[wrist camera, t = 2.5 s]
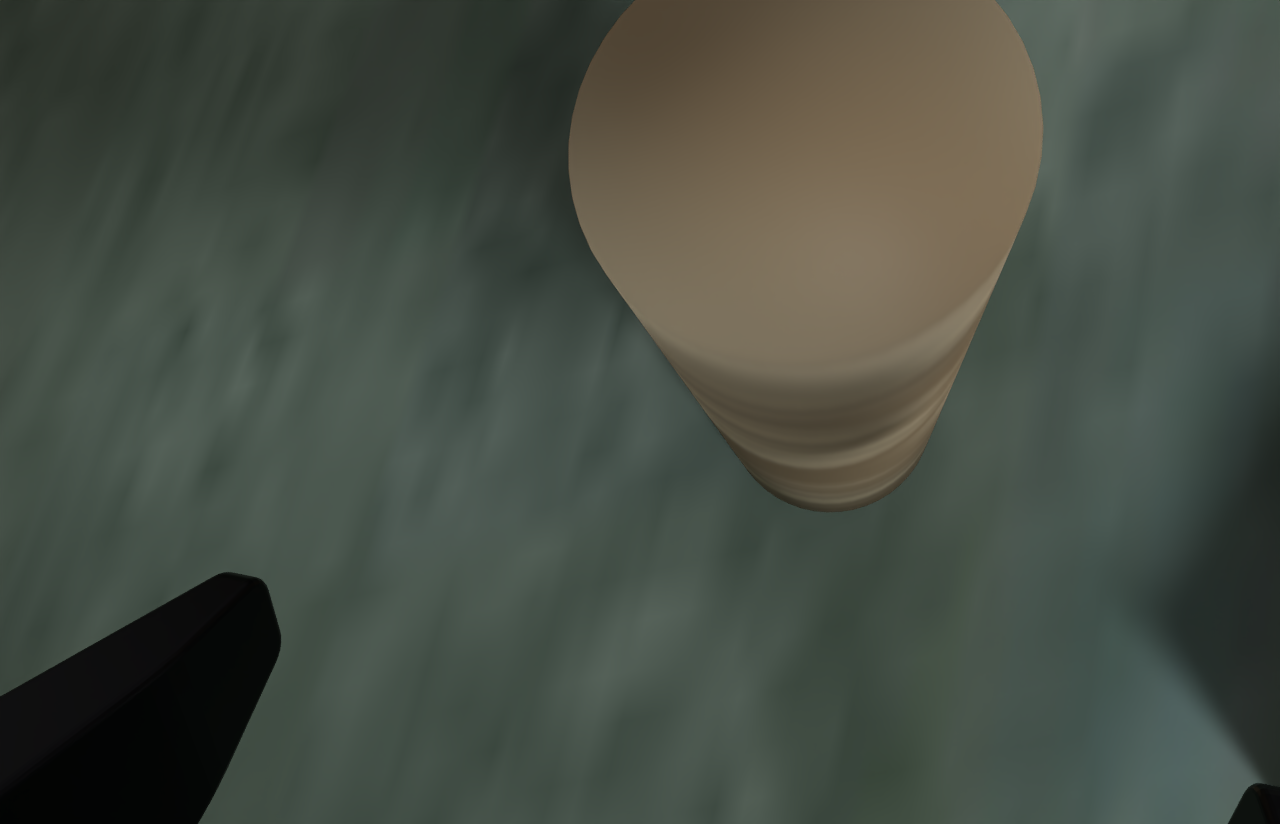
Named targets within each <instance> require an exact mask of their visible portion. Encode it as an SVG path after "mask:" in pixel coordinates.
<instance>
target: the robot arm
mask: <svg viewBox="0 0 1280 824" xmlns="http://www.w3.org/2000/svg"><path fill="white" fill-rule="evenodd" d="M280 647H281V633H280V629H279V625H278V622H277V618H276V615H275V611H274V608H273V604H272V601H271V597H270V594H269V590H268V588H267V585H266V584H265V583H264V582H263V581H262V580H261V579H259V578H257V577H252V576H247V575H242V574H238V573H232V572H224V573H221V574H218V575H216V576H214V577H212V578H210V579H208V580H206V581H205V582H203V583H201V584H199V585H198V586H196V587H194V588H192V589H190V590H189V591H187V592H185V593H183V594H182V595H180V596H178V597H176V598H174V599H173V600H171V601H169V602H167V603H166V604H164V605H162V606H160V607H158V608H157V609H155V610H153V611H151V612H150V613H148V614H146V615H144V616H142V617H141V618H139V619H137V620H135V621H134V622H132V623H130V624H128V625H126V626H125V627H123V628H121V629H119V630H118V631H116V632H114V633H112V634H110V635H109V636H107V637H105V638H103V639H102V640H100V641H98V642H96V643H94V644H93V645H91V646H89V647H87V648H86V649H84V650H82V651H80V652H78V653H77V654H75V655H73V656H71V657H70V658H68V659H66V660H64V661H63V662H61V663H59V664H57V665H55V666H54V667H52V668H50V669H48V670H47V671H45V672H43V673H41V674H39V675H38V676H36V677H34V678H32V679H31V680H29V681H27V682H25V683H23V684H22V685H20V686H18V687H16V688H15V689H13V690H11V691H9V692H7V693H6V694H4V695H2V696H0V824H198V823H199V821H200V819H201V818H202V816H203V814H204V812H205V810H206V809H207V807H208V805H209V803H210V802H211V800H212V798H213V796H214V794H215V792H216V790H217V788H218V786H219V784H220V782H221V780H222V778H223V776H224V774H225V772H226V770H227V768H228V766H229V763H230V761H231V759H232V757H233V755H234V753H235V750H236V748H237V746H238V744H239V742H240V739H241V737H242V735H243V733H244V731H245V729H246V726H247V724H248V722H249V720H250V718H251V716H252V713H253V711H254V709H255V707H256V705H257V702H258V700H259V698H260V696H261V694H262V692H263V689H264V687H265V685H266V683H267V681H268V678H269V676H270V674H271V672H272V670H273V668H274V665H275V663H276V661H277V658H278V656H279V652H280ZM1228 824H1280V787H1277V786H1272V785H1267V784H1262V783H1255V784H1253V785H1251V786H1250V787H1248V788H1247V790H1246V791H1245V792H1244V794H1243V796H1242V798H1241V800H1240V802H1239V804H1238V806H1237V808H1236V809H1235V811H1234V813H1233V815H1232V817H1231V819H1230V821H1229V823H1228Z"/></svg>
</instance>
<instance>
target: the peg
mask: <svg viewBox="0 0 1280 824" xmlns="http://www.w3.org/2000/svg"><path fill="white" fill-rule="evenodd" d="M1042 138H1043V120H1042V109H1041V97H1040V93H1039V89H1038V85H1037V81H1036V77H1035V73H1034V68H1033V66H1032V63H1031V61H1030V59H1029V56H1028V54H1027V51H1026V49H1025V46H1024V44H1023V41H1022V40H1021V38H1020V36H1019V35H1018V33H1017V31H1016V29H1015V28H1014V26H1013V24H1012V23H1011V21H1010V19H1009V18H1008V16H1007V15H1006V13H1005V12H1004V11H1003V10H1002V9H1001V7H1000V6H999V5H998V4H997V2H996V1H995V0H635V1H634V2H633V3H632V4H631V5H630V6H629V7H628V8H627V9H626V10H625V12H624V13H623V14H622V15H621V16H620V17H619V19H618V20H617V21H616V23H615V24H614V26H613V27H612V28H611V30H610V31H609V32H608V34H607V35H606V36H605V38H604V39H603V41H602V43H601V45H600V47H599V48H598V50H597V52H596V54H595V55H594V57H593V59H592V61H591V62H590V65H589V67H588V70H587V72H586V74H585V77H584V79H583V82H582V84H581V87H580V89H579V93H578V97H577V100H576V104H575V108H574V111H573V115H572V122H571V129H570V137H569V177H570V184H571V191H572V198H573V202H574V205H575V209H576V213H577V216H578V220H579V223H580V226H581V228H582V231H583V233H584V235H585V237H586V240H587V242H588V244H589V246H590V249H591V251H592V252H593V254H594V256H595V257H596V259H597V260H598V262H599V264H600V265H601V267H602V268H603V270H604V272H605V273H606V275H607V276H608V278H609V279H610V280H611V282H612V283H613V285H614V286H615V287H616V289H617V290H618V291H619V293H620V294H621V296H622V297H623V298H624V300H625V301H626V303H627V304H628V305H629V307H630V308H631V309H632V311H633V312H634V314H635V315H636V316H637V318H638V319H639V321H640V322H641V323H642V325H643V326H644V327H645V329H646V330H647V332H648V333H649V334H650V336H651V337H652V339H653V340H654V341H655V343H656V344H657V346H658V347H659V348H660V350H661V351H662V352H663V354H664V355H665V357H666V358H667V359H668V361H669V362H670V364H671V365H672V366H673V368H674V369H675V370H676V372H677V373H678V375H679V376H680V377H681V379H682V380H683V382H684V383H685V384H686V386H687V387H688V389H689V390H690V391H691V393H692V394H693V395H694V397H695V398H696V400H697V401H698V402H699V404H700V405H701V407H702V408H703V409H704V411H705V412H706V413H707V415H708V416H709V418H710V419H711V420H712V422H713V423H714V425H715V426H716V427H717V429H718V430H719V432H720V433H721V434H722V436H723V437H724V438H725V440H726V441H727V443H728V444H729V445H730V447H731V448H732V450H733V451H734V452H735V454H736V455H737V456H738V458H739V459H740V461H741V462H742V463H743V465H744V466H745V468H746V469H747V470H748V472H749V473H750V474H751V475H752V476H753V478H754V479H755V480H756V481H757V482H758V483H759V484H760V485H761V486H762V487H763V488H764V489H766V490H767V491H768V492H770V493H771V494H773V495H774V496H775V497H777V498H779V499H781V500H783V501H785V502H787V503H789V504H791V505H794V506H797V507H799V508H803V509H807V510H812V511H820V512H841V511H848V510H854V509H857V508H860V507H864V506H867V505H869V504H871V503H873V502H876V501H878V500H880V499H881V498H883V497H885V496H886V495H888V494H889V493H891V492H892V491H893V490H894V489H896V488H897V487H898V486H899V485H901V483H902V482H903V481H904V480H905V479H906V478H907V477H908V476H909V475H910V473H911V472H912V471H913V469H914V468H915V466H916V465H917V463H918V461H919V460H920V458H921V456H922V454H923V452H924V449H925V447H926V445H927V443H928V440H929V438H930V436H931V433H932V431H933V429H934V426H935V424H936V422H937V419H938V417H939V415H940V412H941V410H942V408H943V405H944V403H945V401H946V398H947V396H948V394H949V391H950V389H951V387H952V384H953V382H954V380H955V377H956V375H957V373H958V370H959V368H960V366H961V363H962V361H963V359H964V356H965V354H966V352H967V349H968V347H969V345H970V342H971V340H972V338H973V336H974V333H975V331H976V329H977V326H978V324H979V322H980V319H981V317H982V315H983V312H984V310H985V308H986V305H987V303H988V301H989V298H990V296H991V294H992V291H993V289H994V287H995V284H996V282H997V280H998V277H999V275H1000V273H1001V270H1002V268H1003V266H1004V263H1005V261H1006V259H1007V256H1008V254H1009V252H1010V249H1011V247H1012V245H1013V242H1014V240H1015V238H1016V235H1017V233H1018V231H1019V229H1020V226H1021V224H1022V222H1023V219H1024V217H1025V214H1026V211H1027V209H1028V206H1029V203H1030V200H1031V198H1032V195H1033V192H1034V189H1035V186H1036V181H1037V176H1038V171H1039V166H1040V161H1041V156H1042Z"/></svg>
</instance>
